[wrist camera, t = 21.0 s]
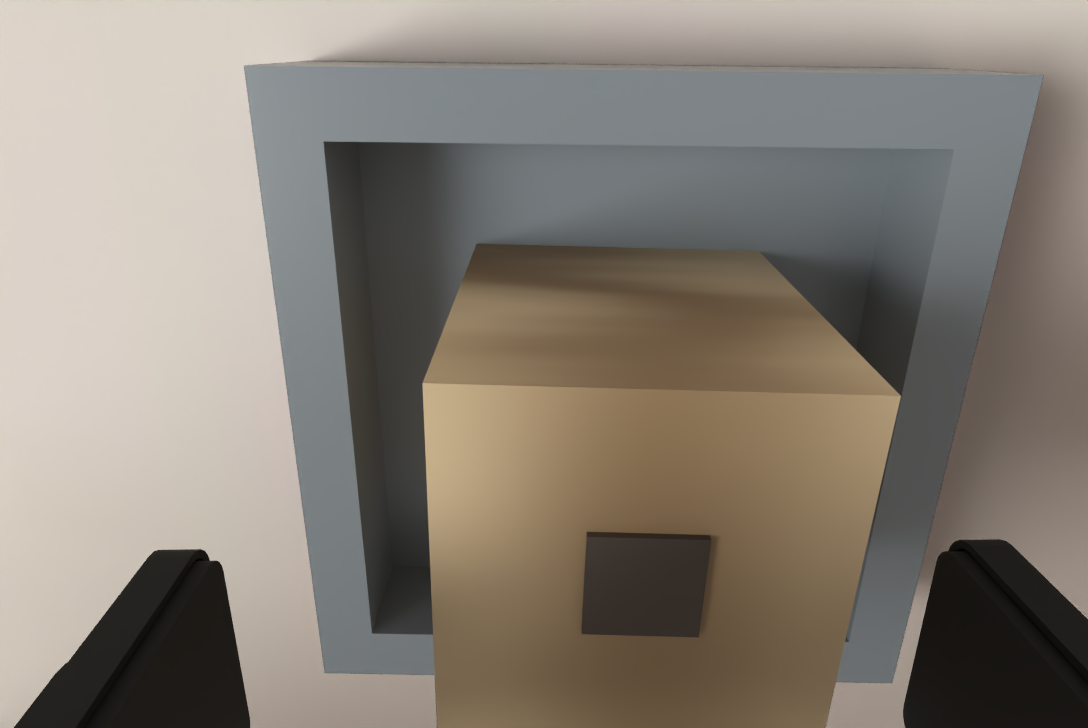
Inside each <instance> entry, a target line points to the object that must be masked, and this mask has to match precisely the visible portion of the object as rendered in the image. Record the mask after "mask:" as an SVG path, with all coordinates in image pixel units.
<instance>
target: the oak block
mask: <svg viewBox="0 0 1088 728" xmlns="http://www.w3.org/2000/svg"><path fill="white" fill-rule="evenodd" d="M422 384H423V408H424V431H425V455H426V479H427V502H428V526H429V550H430V573H431V597H432V621H433V644H434V668H435V692H436V715H437V728H825V727H826V722H827V718H828V714H829V709H830V705H831V701H832V696H833V692H834V687H835V683H836V679H837V674H838V670H839V665H840V661H841V657H842V652H843V648H844V644H845V639H846V635H847V630H848V626H849V622H850V617H851V613H852V608H853V604H854V600H855V595H856V591H857V587H858V582H859V578H860V573H861V569H862V565H863V560H864V556H865V551H866V547H867V543H868V538H869V534H870V530H871V525H872V521H873V516H874V512H875V508H876V503H877V499H878V494H879V490H880V486H881V481H882V477H883V473H884V468H885V464H886V459H887V455H888V451H889V446H890V442H891V437H892V433H893V429H894V424H895V420H896V416H897V411H898V407H899V402H900V398H901V396H900V395H899V394H898V393H897V392H896V390H895V389H894V388H893V387H892V386H891V385H890V384H889V383H888V382H887V381H886V380H885V379H884V378H883V377H882V376H881V375H880V374H879V373H878V372H877V371H876V370H875V369H874V368H873V367H872V366H871V365H870V364H869V363H868V362H867V361H866V360H865V359H864V358H863V357H862V356H861V355H860V354H859V353H858V352H857V351H856V350H855V349H854V348H853V347H852V346H851V345H850V344H849V343H848V342H847V341H846V340H845V339H844V338H843V336H842V335H841V334H840V333H839V332H838V331H837V330H836V329H835V328H834V327H833V326H832V325H831V324H830V323H829V322H828V321H827V320H826V319H825V318H824V317H823V316H822V315H821V314H820V313H819V312H818V311H817V310H816V309H815V308H814V307H813V306H812V305H811V304H810V303H809V302H808V301H807V300H806V299H805V298H804V297H803V296H802V295H801V294H800V293H799V292H798V291H797V290H796V289H795V288H794V287H793V286H792V285H791V284H790V283H789V281H788V280H787V279H786V278H785V277H784V276H783V275H782V274H781V273H780V272H779V271H778V270H777V269H776V268H775V267H774V266H773V265H772V264H771V263H770V262H769V261H768V260H767V259H766V258H765V257H764V256H763V255H762V254H761V253H760V252H759V251H735V250H697V249H659V248H621V247H583V246H545V245H507V244H476V246H475V249H474V252H473V254H472V257H471V259H470V262H469V264H468V267H467V270H466V272H465V275H464V277H463V280H462V283H461V285H460V288H459V290H458V293H457V295H456V298H455V301H454V303H453V306H452V308H451V311H450V313H449V316H448V319H447V321H446V324H445V326H444V329H443V332H442V334H441V337H440V339H439V342H438V344H437V347H436V350H435V352H434V355H433V357H432V360H431V363H430V365H429V368H428V370H427V373H426V375H425V378H424V381H423V383H422Z"/></svg>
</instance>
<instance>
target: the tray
mask: <svg viewBox="0 0 1088 728" xmlns="http://www.w3.org/2000/svg"><path fill="white" fill-rule="evenodd" d="M244 71H245V78H246V86H247V93H248V101H249V108H250V116H251V123H252V131H253V139H254V146H255V154H256V161H257V169H258V176H259V184H260V191H261V199H262V206H263V214H264V221H265V229H266V236H267V244H268V251H269V259H270V266H271V274H272V281H273V289H274V296H275V304H276V311H277V319H278V326H279V334H280V342H281V349H282V357H283V364H284V372H285V379H286V387H287V394H288V402H289V409H290V417H291V424H292V432H293V439H294V447H295V454H296V462H297V469H298V477H299V484H300V492H301V499H302V507H303V514H304V522H305V530H306V537H307V545H308V552H309V560H310V567H311V575H312V582H313V590H314V597H315V605H316V612H317V620H318V627H319V635H320V642H321V650H322V657H323V665H324V672H325V673H349V674H405V675H435V668H434V644H433V621H432V597H431V573H430V550H429V526H428V502H427V479H426V455H425V431H424V408H423V384H422V383H423V381H424V378H425V375H426V373H427V370H428V368H429V365H430V363H431V360H432V357H433V355H434V352H435V350H436V347H437V344H438V342H439V339H440V337H441V334H442V332H443V329H444V326H445V324H446V321H447V319H448V316H449V313H450V311H451V308H452V306H453V303H454V301H455V298H456V295H457V293H458V290H459V288H460V285H461V283H462V280H463V277H464V275H465V272H466V270H467V267H468V264H469V262H470V259H471V257H472V254H473V252H474V249H475V246H476V244H507V245H545V246H583V247H621V248H659V249H697V250H735V251H759V252H760V253H761V254H762V255H763V256H764V257H765V258H766V259H767V260H768V261H769V262H770V263H771V264H772V265H773V266H774V267H775V268H776V269H777V270H778V271H779V272H780V273H781V274H782V275H783V276H784V277H785V278H786V279H787V280H788V281H789V283H790V284H791V285H792V286H793V287H794V288H795V289H796V290H797V291H798V292H799V293H800V294H801V295H802V296H803V297H804V298H805V299H806V300H807V301H808V302H809V303H810V304H811V305H812V306H813V307H814V308H815V309H816V310H817V311H818V312H819V313H820V314H821V315H822V316H823V317H824V318H825V319H826V320H827V321H828V322H829V323H830V324H831V325H832V326H833V327H834V328H835V329H836V330H837V331H838V332H839V333H840V334H841V335H842V336H843V338H844V339H845V340H846V341H847V342H848V343H849V344H850V345H851V346H852V347H853V348H854V349H855V350H856V351H857V352H858V353H859V354H860V355H861V356H862V357H863V358H864V359H865V360H866V361H867V362H868V363H869V364H870V365H871V366H872V367H873V368H874V369H875V370H876V371H877V372H878V373H879V374H880V375H881V376H882V377H883V378H884V379H885V380H886V381H887V382H888V383H889V384H890V385H891V386H892V387H893V388H894V389H895V390H896V392H897V393H898V394H899V395H900V396H901V398H900V402H899V407H898V411H897V416H896V420H895V424H894V429H893V433H892V437H891V442H890V446H889V451H888V455H887V459H886V464H885V468H884V473H883V477H882V481H881V486H880V490H879V494H878V499H877V503H876V508H875V512H874V516H873V521H872V525H871V530H870V534H869V538H868V543H867V547H866V551H865V556H864V560H863V565H862V569H861V573H860V578H859V582H858V587H857V591H856V595H855V600H854V604H853V608H852V613H851V617H850V622H849V626H848V630H847V635H846V639H845V644H844V648H843V652H842V657H841V661H840V665H839V670H838V674H837V679H836V682H855V683H892V682H893V678H894V674H895V670H896V666H897V662H898V658H899V654H900V650H901V646H902V642H903V638H904V634H905V630H906V626H907V622H908V618H909V614H910V609H911V605H912V601H913V597H914V593H915V589H916V585H917V581H918V577H919V573H920V569H921V565H922V561H923V557H924V553H925V549H926V545H927V541H928V537H929V533H930V529H931V525H932V521H933V517H934V513H935V509H936V505H937V501H938V497H939V493H940V489H941V485H942V481H943V477H944V473H945V469H946V465H947V461H948V457H949V453H950V449H951V445H952V441H953V437H954V433H955V429H956V425H957V421H958V417H959V413H960V409H961V405H962V401H963V397H964V393H965V389H966V385H967V381H968V377H969V373H970V369H971V365H972V361H973V357H974V353H975V349H976V345H977V341H978V337H979V333H980V329H981V325H982V321H983V317H984V312H985V308H986V304H987V300H988V296H989V292H990V288H991V284H992V280H993V276H994V272H995V268H996V264H997V260H998V256H999V252H1000V248H1001V244H1002V240H1003V236H1004V232H1005V228H1006V224H1007V220H1008V216H1009V212H1010V208H1011V204H1012V200H1013V196H1014V192H1015V188H1016V184H1017V180H1018V176H1019V172H1020V168H1021V164H1022V160H1023V156H1024V152H1025V148H1026V144H1027V140H1028V136H1029V132H1030V128H1031V124H1032V120H1033V116H1034V112H1035V108H1036V104H1037V100H1038V96H1039V92H1040V88H1041V84H1042V80H1043V76H1044V75H1034V74H1019V73H1004V72H989V71H974V70H958V69H943V68H868V67H784V66H700V65H615V64H531V63H447V62H363V61H300V62H286V63H272V64H259V65H245V66H244Z"/></svg>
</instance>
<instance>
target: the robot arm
mask: <svg viewBox="0 0 1088 728" xmlns="http://www.w3.org/2000/svg"><path fill="white" fill-rule="evenodd" d="M903 717H904V723H905V728H1088V619H1087V618H1086V617H1085V616H1084V615H1083V614H1082V613H1081V612H1080V611H1079V610H1077V609H1076V608H1075V607H1074V606H1073V605H1072V604H1071V603H1070V602H1069V601H1068V600H1067V599H1066V598H1065V597H1064V596H1063V595H1062V594H1061V593H1060V592H1059V591H1058V590H1057V589H1056V588H1055V587H1054V586H1053V585H1052V584H1051V583H1050V582H1049V581H1048V580H1047V579H1046V578H1045V577H1044V576H1043V575H1042V574H1041V573H1040V572H1039V571H1038V570H1037V569H1036V568H1035V567H1034V566H1032V565H1031V564H1030V563H1029V562H1028V561H1027V560H1026V559H1025V558H1024V557H1023V556H1022V555H1021V554H1020V553H1019V552H1018V551H1017V550H1016V549H1015V548H1014V547H1013V546H1012V545H1011V544H1009V543H1008V542H1006V541H1004V540H958V541H955V542H954V543H953V544H952V545H951V546H950V549H949V551H945V552H942V553H941V554H940V555H939V556H938V559H937V562H936V566H935V571H934V575H933V580H932V584H931V588H930V593H929V597H928V602H927V606H926V610H925V615H924V619H923V624H922V628H921V632H920V637H919V641H918V646H917V650H916V654H915V659H914V663H913V667H912V672H911V676H910V681H909V685H908V689H907V694H906V698H905V703H904V709H903ZM14 728H250V717H249V711H248V706H247V700H246V694H245V689H244V683H243V678H242V672H241V667H240V661H239V656H238V650H237V645H236V639H235V633H234V628H233V622H232V617H231V611H230V606H229V600H228V595H227V589H226V583H225V578H224V572H223V568H222V565H221V564H220V562H218V561H210V560H209V557H208V555H207V553H206V552H205V551H203V550H201V549H198V550H157V551H154V552H153V553H152V554H151V555H150V556H149V557H148V558H147V560H146V561H145V562H144V564H143V565H142V566H141V567H140V569H139V570H138V571H137V573H136V574H135V575H134V577H133V578H132V579H131V581H130V582H129V583H128V584H127V586H126V587H125V588H124V590H123V591H122V592H121V594H120V595H119V596H118V598H117V599H116V600H115V601H114V603H113V604H112V605H111V607H110V608H109V609H108V611H107V612H106V613H105V615H104V616H103V617H102V618H101V620H100V621H99V622H98V624H97V625H96V626H95V628H94V629H93V630H92V632H91V633H90V634H89V635H88V637H87V638H86V639H85V641H84V642H83V643H82V645H81V646H80V647H79V649H78V650H77V651H76V652H75V654H74V655H73V656H72V658H71V659H70V660H69V662H68V663H66V664H65V665H64V666H63V667H62V668H61V669H60V670H59V671H58V672H57V673H56V674H55V675H54V676H53V678H52V679H51V680H50V682H49V683H48V684H47V685H46V687H45V688H44V689H43V691H42V692H41V693H40V695H39V696H38V697H37V698H36V700H35V701H34V702H33V704H32V705H31V706H30V708H29V709H28V710H27V711H26V713H25V714H24V715H23V717H22V718H21V719H20V721H19V722H18V723H17V724H16V726H15V727H14Z"/></svg>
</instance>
